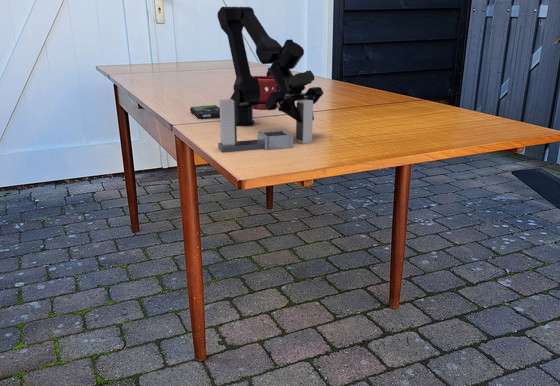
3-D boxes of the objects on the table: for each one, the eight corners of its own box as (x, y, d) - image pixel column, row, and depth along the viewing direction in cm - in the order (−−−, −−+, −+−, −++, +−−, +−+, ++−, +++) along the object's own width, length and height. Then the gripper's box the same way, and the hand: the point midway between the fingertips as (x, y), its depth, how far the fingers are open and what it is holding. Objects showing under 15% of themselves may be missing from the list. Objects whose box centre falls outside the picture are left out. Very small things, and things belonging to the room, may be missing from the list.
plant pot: (276, 110, 208) (276, 79, 204) (243, 109, 211) (243, 78, 207) (283, 105, 220) (283, 75, 216) (252, 103, 223) (251, 74, 219)
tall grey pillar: (295, 142, 161) (296, 100, 157) (305, 140, 164) (306, 99, 160) (301, 144, 159) (302, 101, 155) (311, 142, 161) (313, 100, 157)
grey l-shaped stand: (217, 146, 155) (215, 98, 151) (284, 141, 162) (284, 94, 157) (223, 153, 149) (222, 102, 144) (292, 147, 155) (293, 99, 151)
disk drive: (226, 119, 195) (215, 111, 208) (226, 111, 194) (215, 104, 207) (199, 121, 192) (189, 113, 205) (198, 113, 191) (189, 106, 204)
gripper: (270, 63, 151) (295, 108, 147) (320, 59, 162) (344, 101, 157) (255, 88, 160) (277, 131, 155) (303, 83, 170) (325, 123, 166)
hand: (307, 121), depth 158 cm, fingers closed on tall grey pillar, 4 cm apart
